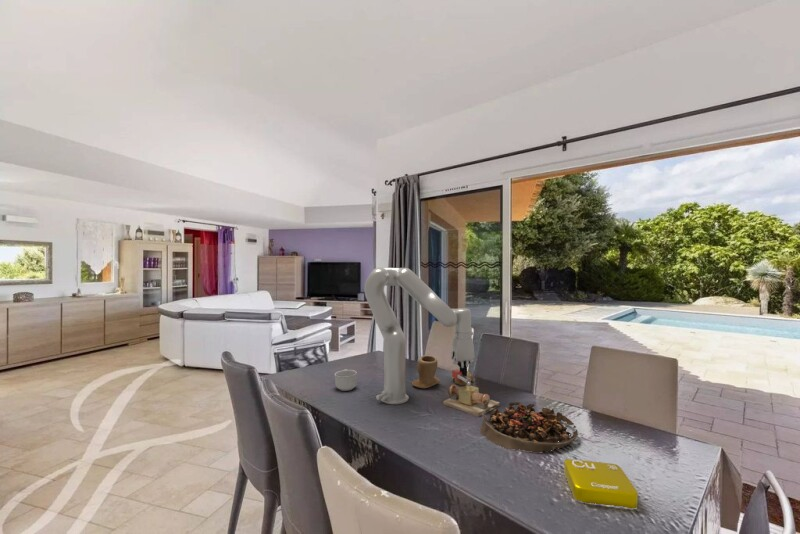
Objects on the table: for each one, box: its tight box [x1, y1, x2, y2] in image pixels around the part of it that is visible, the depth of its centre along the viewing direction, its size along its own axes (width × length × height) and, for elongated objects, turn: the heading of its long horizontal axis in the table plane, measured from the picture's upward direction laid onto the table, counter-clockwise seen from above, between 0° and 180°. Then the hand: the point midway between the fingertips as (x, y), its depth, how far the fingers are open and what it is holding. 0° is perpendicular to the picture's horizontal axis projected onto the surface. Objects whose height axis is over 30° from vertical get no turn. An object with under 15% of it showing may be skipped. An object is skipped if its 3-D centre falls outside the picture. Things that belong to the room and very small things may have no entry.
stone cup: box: [411, 354, 441, 389], centre depth 186 cm, size 15×12×15 cm
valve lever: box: [451, 369, 471, 386], centre depth 164 cm, size 13×3×4 cm, turn 21°
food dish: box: [479, 401, 579, 453], centre depth 136 cm, size 35×33×8 cm
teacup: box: [334, 368, 358, 392], centre depth 183 cm, size 14×11×8 cm
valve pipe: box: [448, 383, 491, 409], centre depth 159 cm, size 6×18×7 cm, turn 45°
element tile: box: [563, 458, 639, 508], centre depth 101 cm, size 15×15×5 cm
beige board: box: [442, 397, 500, 417], centre depth 161 cm, size 16×18×2 cm
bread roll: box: [451, 370, 475, 386], centre depth 191 cm, size 10×10×8 cm
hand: (463, 375), depth 170 cm, fingers closed
